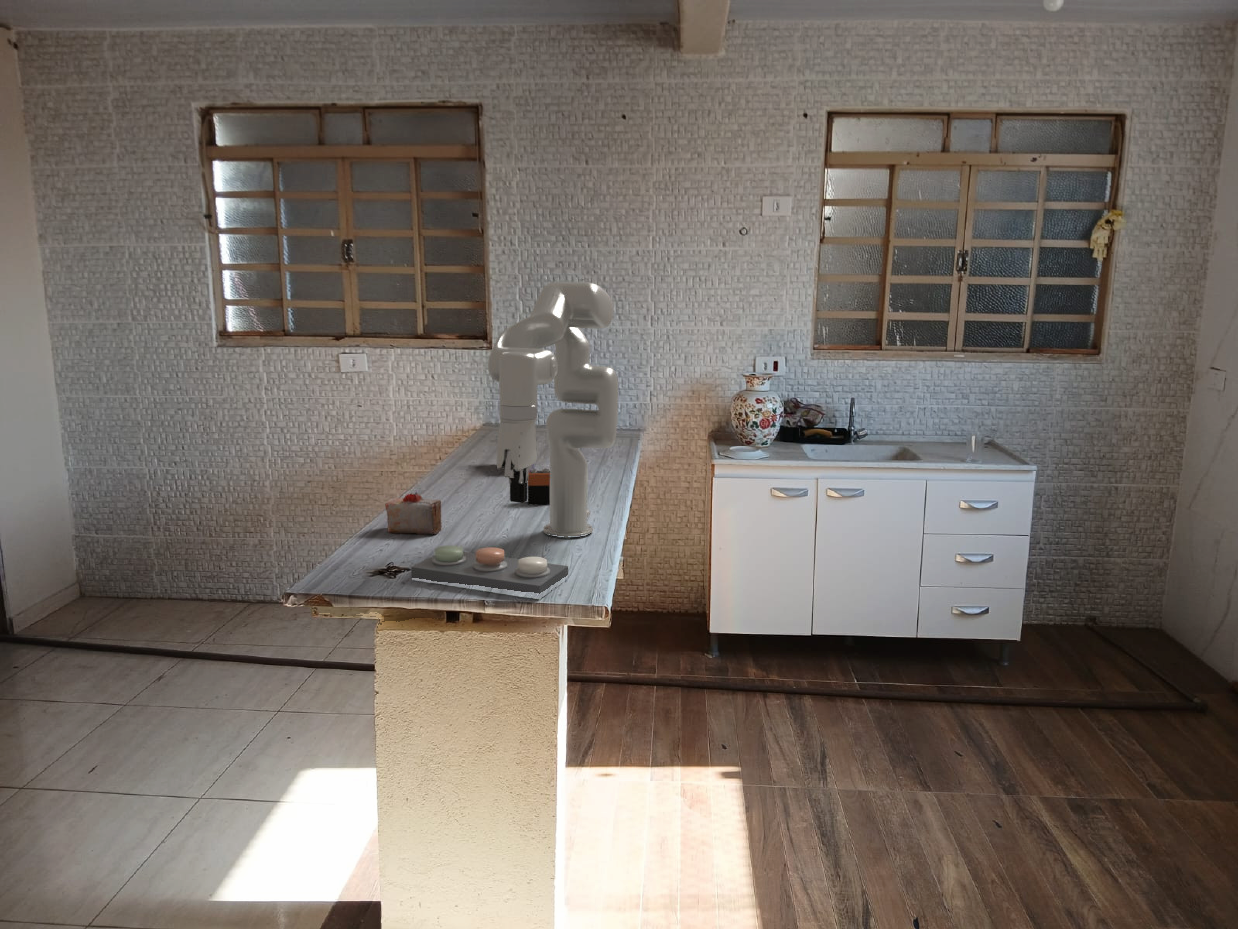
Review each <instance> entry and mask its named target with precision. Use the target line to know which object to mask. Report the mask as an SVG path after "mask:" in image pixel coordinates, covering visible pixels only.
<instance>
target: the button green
mask: <svg viewBox="0 0 1238 929" xmlns="http://www.w3.org/2000/svg"><path fill="white" fill-rule="evenodd" d="M463 552H464V548H463V547H461V546H458V545H441V546H438V547H436V548H435V549H434V555H435V559H436V560H438V561H442V562H453V561H458V560H461V559H462V558H463Z"/></svg>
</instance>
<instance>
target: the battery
mask: <svg viewBox="0 0 1238 929" xmlns="http://www.w3.org/2000/svg"><path fill="white" fill-rule="evenodd" d="M527 503H528V505H530V504H533V505H535V504H542V505H550V468H547V467H545V468H544V467H543V468H541V470H537V468H535V469H531V471H529V475H528V481H527Z"/></svg>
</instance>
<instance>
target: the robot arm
mask: <svg viewBox="0 0 1238 929" xmlns="http://www.w3.org/2000/svg"><path fill="white" fill-rule="evenodd" d="M613 317H614V304H613V301H612V298H611V296H610V294H608V293H607V291H605V290H604V289H603V288H602V287H601V286H599V285H598V284H596V283H593V282H588V281H554V282H553V281H552V282H550V283H548V284H546V285H545V286H544V287H543V288H542V289H541V291H540V293H539V295H538V298H537V300H536V301H535V304H534V306H533V308H532V311H531V313H530V314H529V316H528V317H526V318H523V319H521V320H519V321H518V322H516V323H514V324H513V325H511V326H509V327H507V328H506V329H504V330H503V331H502V332H501V333H500V334H499V335H498V337H497V338H496V340H495V342H494V345H493V347H492V349H491V351H490V353H489V356H488V361H487V363H488V364H487V370H488V374H489V375H490V378H491V379H492V380H493V381H494V382H496V383H499V384H498V385H499V389H498V390H499V394H498V395H499V426H498V433H497V443H496V444H497V445H496V446H497V447H496V467H497V469H498V470H504V478H507V479H508V483H509V502H511V503H512V502H513V503H522V504H523V503H525V502H528V475H529V470H530V469H531V468H532V465H533V464H534V463H535V464H536V462H537V459H538V458H537V457H538V456H537V455H538V442H537V440H538V438H537V429H536V428H537V427H536V422H538V421H537V420H538V399H537V398H538V386H544V385H548V384H549V383H551V382H553V381H554V384H553V385H554V386H553V387H554V388H553V389H554V390H553V392H554V395H555V396H554V397H555V398H556V399H557V400H558V401H560V402H562V403H566V404H575V405H576V404H580V405H595V406H596V407H597V408H598V409H584V408H559V409H555V410H553V411H552V412H550V413H549V414H548V416H547V417H546V422H545V423H546V424H545V430H546V435H547V436H546V437H547V443H548V450H549V453H548V454H549V471H550V504H549V523H548V524H546V525H544V527H543V533H544V532H545V533H546V534H550V535H557V536H564V537H568V536H581V535H585V534H590V533H592V531H593V532H594V527H593V526H592V525H591V524H589V523H588V518H589V517H590V516H591V512H590V510H588V482H589V481H588V476H589V475H588V472H589V471H588V468H589V467H588V466H589V465H588V462H587V460H586V457H585V456H584V454H583V453H582V451H581V450H580V449H583V448H584V449H598V450H599V449H600V450H601V449H602V450H604V449H610V448H611V447H612V446H613V445H614V444H615V442H616V438H617V429H618V428H617V427H618V407H619V406H618V405H619V404H618V403H619V379H618V375H617V373H616V371H615V370H614V369H613V368H612V367H610V366H605V365H604V366H603V365H591V363H590V354H591V352H590V351H591V348H590V347H591V346H590V343H589V341H588V339H587V337H586V336H585V334H584V333H583V332H582V331H581V329H597V330H598V329H599V330H600V329H605V328H608V327H609V326H610V324H612V320H613ZM552 345H554V347H555V354H554V353H553V352H552V351H551V350H548V349H546V348H547V347H550V346H552ZM513 467H515V468H513ZM545 533H544V534H545ZM546 534H545V535H546ZM592 534H593V533H592ZM590 535H591V534H590Z"/></svg>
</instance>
